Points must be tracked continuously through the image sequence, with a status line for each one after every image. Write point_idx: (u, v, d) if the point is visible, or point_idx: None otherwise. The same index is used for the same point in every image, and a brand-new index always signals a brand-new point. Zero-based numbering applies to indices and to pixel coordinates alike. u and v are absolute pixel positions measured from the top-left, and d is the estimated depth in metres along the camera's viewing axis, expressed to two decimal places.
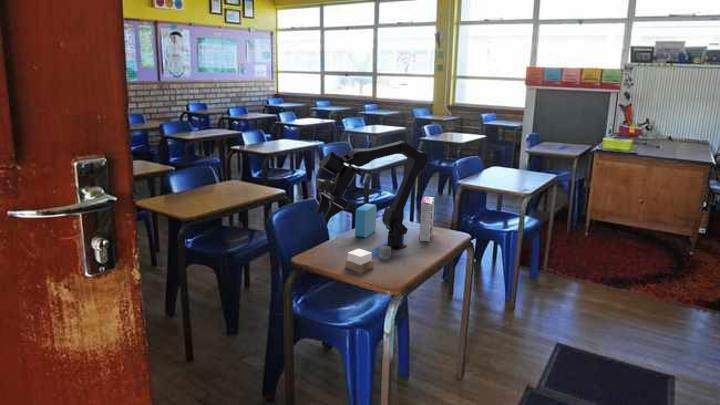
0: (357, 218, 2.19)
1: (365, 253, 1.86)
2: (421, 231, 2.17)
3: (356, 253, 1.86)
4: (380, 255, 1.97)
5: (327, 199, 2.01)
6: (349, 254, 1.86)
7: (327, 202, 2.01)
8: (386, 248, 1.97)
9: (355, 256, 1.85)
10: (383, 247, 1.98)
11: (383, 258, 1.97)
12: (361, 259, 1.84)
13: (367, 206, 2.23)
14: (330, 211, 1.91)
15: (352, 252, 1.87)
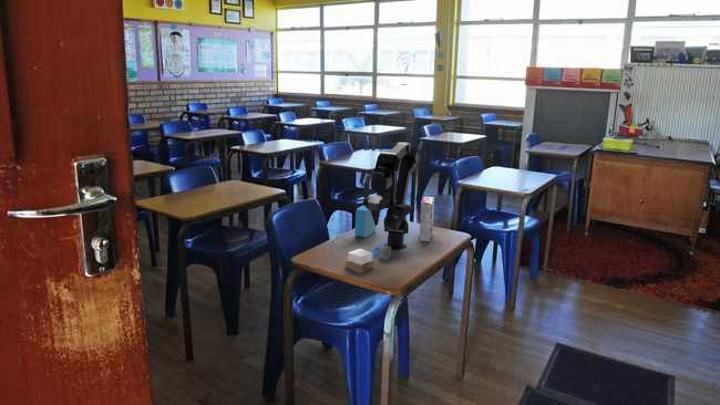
0: (357, 218, 2.19)
1: (366, 253, 1.86)
2: (421, 231, 2.17)
3: (357, 253, 1.86)
4: (380, 255, 1.97)
5: None
6: (350, 254, 1.87)
7: (378, 211, 1.98)
8: (386, 248, 1.97)
9: (355, 256, 1.85)
10: (383, 247, 1.98)
11: (383, 258, 1.97)
12: (361, 259, 1.84)
13: None
14: (398, 222, 1.91)
15: (353, 252, 1.87)
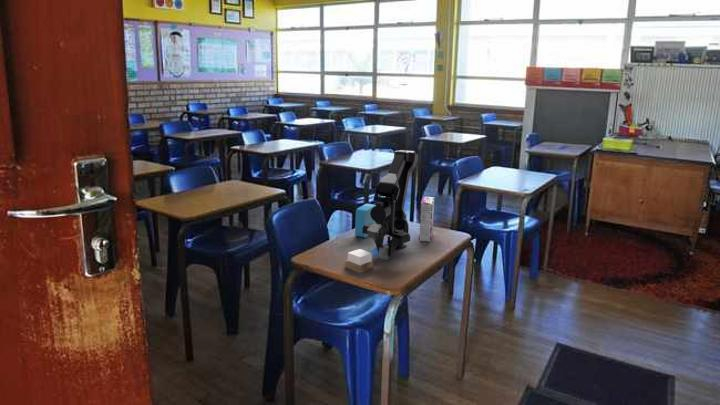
0: (357, 218, 2.19)
1: (365, 254, 1.86)
2: (421, 231, 2.17)
3: (356, 253, 1.86)
4: (380, 255, 1.97)
5: (380, 237, 1.99)
6: (349, 254, 1.86)
7: (381, 239, 2.00)
8: (386, 248, 1.97)
9: (355, 256, 1.84)
10: (383, 247, 1.98)
11: (383, 258, 1.96)
12: (360, 260, 1.83)
13: (367, 206, 2.23)
14: (391, 248, 1.95)
15: (352, 252, 1.87)
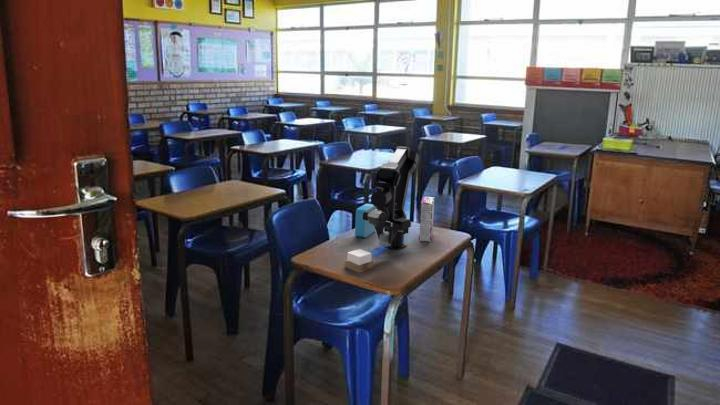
0: (357, 218, 2.19)
1: (365, 254, 1.86)
2: (421, 231, 2.17)
3: (356, 253, 1.86)
4: (380, 241, 1.95)
5: (380, 223, 1.98)
6: (349, 254, 1.86)
7: (382, 225, 1.98)
8: (386, 234, 1.95)
9: (354, 256, 1.85)
10: (383, 234, 1.96)
11: (383, 244, 1.95)
12: (360, 260, 1.83)
13: (367, 206, 2.23)
14: (392, 234, 1.93)
15: (352, 252, 1.87)
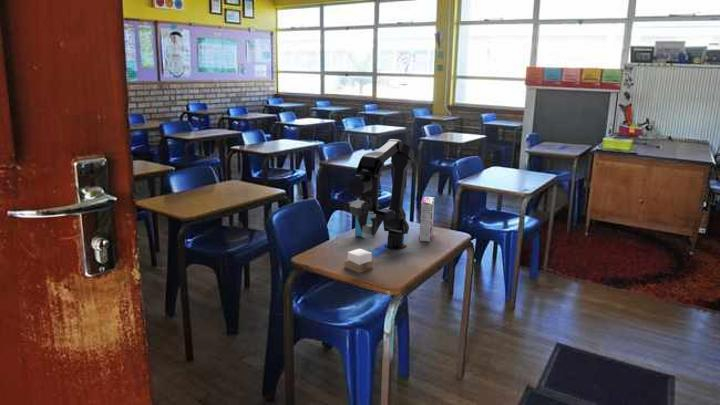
0: None
1: (365, 253, 1.86)
2: (421, 231, 2.17)
3: (356, 253, 1.86)
4: (363, 233, 1.87)
5: (364, 215, 1.89)
6: (349, 253, 1.87)
7: (365, 217, 1.89)
8: (370, 226, 1.87)
9: (354, 256, 1.85)
10: (367, 225, 1.88)
11: (366, 237, 1.86)
12: (360, 259, 1.84)
13: None
14: (375, 226, 1.85)
15: (352, 252, 1.87)
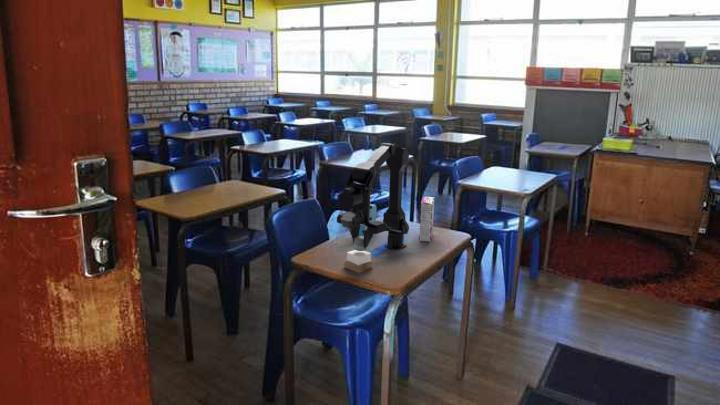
0: None
1: (364, 254, 1.86)
2: (421, 231, 2.17)
3: (355, 253, 1.86)
4: (355, 246, 1.85)
5: (356, 226, 1.87)
6: (348, 254, 1.87)
7: (357, 229, 1.88)
8: (362, 238, 1.85)
9: (354, 256, 1.85)
10: (359, 237, 1.86)
11: (358, 249, 1.84)
12: (359, 260, 1.83)
13: None
14: (367, 238, 1.83)
15: (351, 252, 1.87)
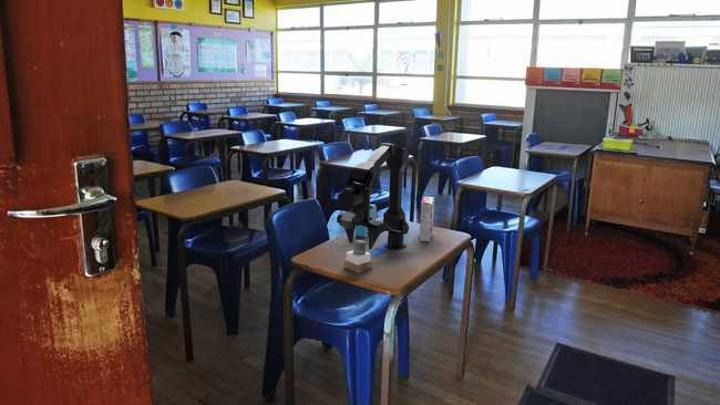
0: None
1: (364, 254, 1.86)
2: (421, 231, 2.17)
3: None
4: (354, 250, 1.85)
5: None
6: (347, 254, 1.87)
7: (352, 227, 1.89)
8: (361, 242, 1.85)
9: (353, 256, 1.85)
10: (358, 241, 1.86)
11: (357, 253, 1.85)
12: (358, 260, 1.83)
13: None
14: (372, 240, 1.81)
15: (351, 252, 1.87)
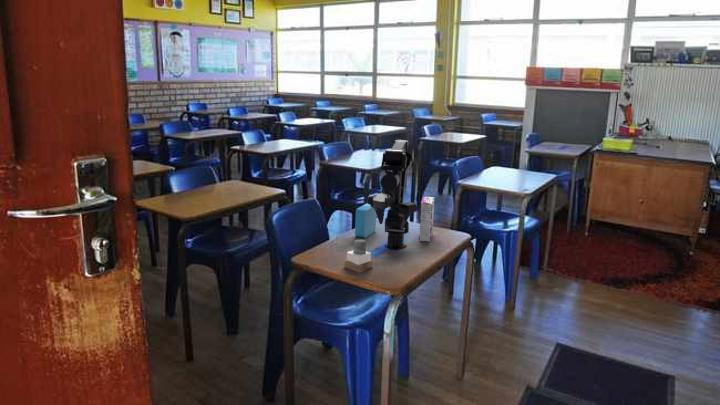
0: (357, 218, 2.19)
1: None
2: (421, 231, 2.17)
3: None
4: (354, 249, 1.86)
5: None
6: (348, 254, 1.87)
7: (382, 209, 1.95)
8: (361, 242, 1.86)
9: (353, 256, 1.85)
10: (358, 241, 1.87)
11: (357, 252, 1.85)
12: (359, 259, 1.84)
13: (367, 206, 2.23)
14: (403, 220, 1.88)
15: (351, 252, 1.87)
